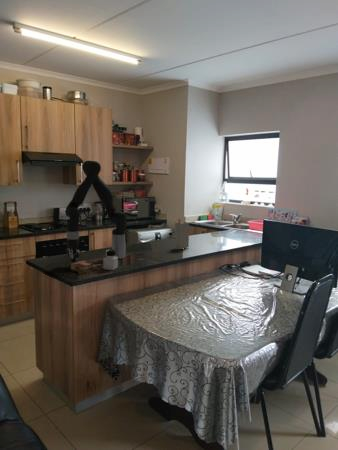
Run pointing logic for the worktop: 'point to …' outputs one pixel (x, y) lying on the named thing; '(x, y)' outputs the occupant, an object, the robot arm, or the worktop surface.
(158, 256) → the worktop surface
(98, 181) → the robot arm
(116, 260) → the medicine bottle
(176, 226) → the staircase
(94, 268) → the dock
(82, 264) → the T block
